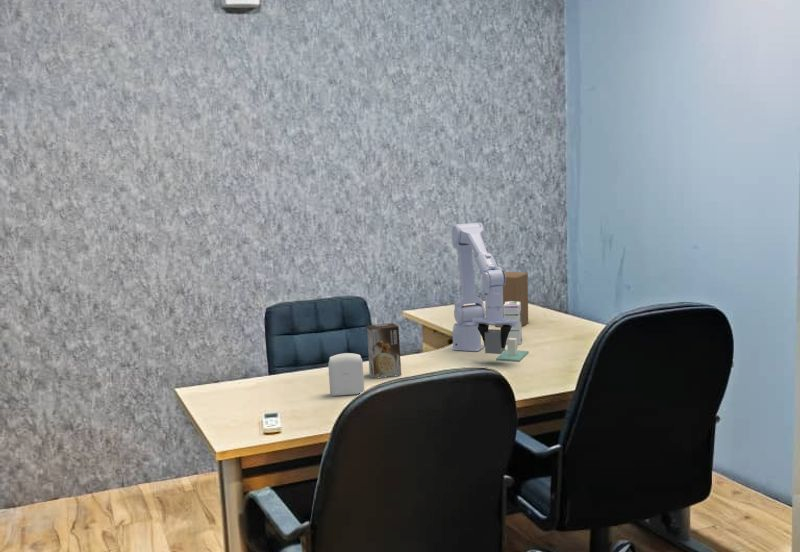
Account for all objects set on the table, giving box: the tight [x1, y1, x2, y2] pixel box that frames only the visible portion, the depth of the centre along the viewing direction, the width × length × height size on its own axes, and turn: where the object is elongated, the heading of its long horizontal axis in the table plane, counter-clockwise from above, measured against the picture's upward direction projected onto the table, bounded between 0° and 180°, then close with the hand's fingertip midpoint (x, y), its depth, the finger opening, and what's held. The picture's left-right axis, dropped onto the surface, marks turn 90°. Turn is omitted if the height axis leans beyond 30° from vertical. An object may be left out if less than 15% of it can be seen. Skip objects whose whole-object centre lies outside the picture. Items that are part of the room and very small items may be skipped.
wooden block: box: [494, 271, 529, 328], centre depth 362 cm, size 10×10×20 cm
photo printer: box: [327, 352, 365, 397], centre depth 280 cm, size 10×4×12 cm, turn 96°
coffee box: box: [366, 322, 402, 379], centre depth 298 cm, size 9×6×16 cm
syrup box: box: [503, 301, 523, 345], centre depth 335 cm, size 6×6×14 cm
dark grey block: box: [484, 328, 506, 355], centre depth 307 cm, size 5×5×7 cm
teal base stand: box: [495, 338, 530, 363], centre depth 316 cm, size 8×12×6 cm, turn 158°
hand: (495, 346), depth 308 cm, fingers closed on dark grey block, 5 cm apart
